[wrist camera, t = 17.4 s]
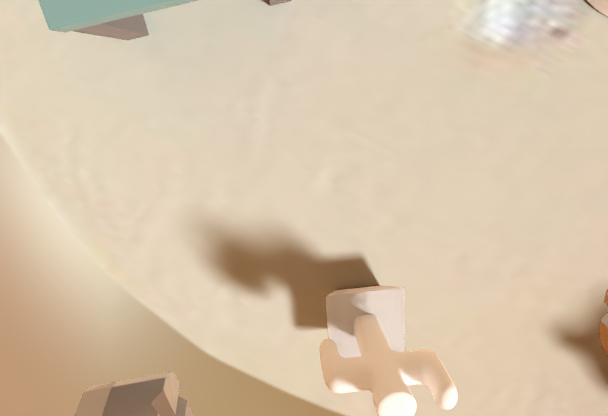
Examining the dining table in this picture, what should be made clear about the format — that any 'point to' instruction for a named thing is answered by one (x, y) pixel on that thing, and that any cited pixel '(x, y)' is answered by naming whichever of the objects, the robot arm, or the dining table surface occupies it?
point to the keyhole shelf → (106, 15)
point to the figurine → (378, 352)
